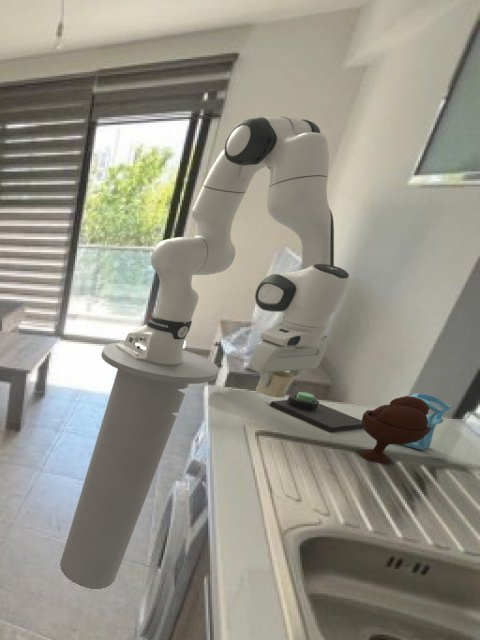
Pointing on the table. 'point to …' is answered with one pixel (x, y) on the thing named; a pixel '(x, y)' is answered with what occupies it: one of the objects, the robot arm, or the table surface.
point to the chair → (430, 420)
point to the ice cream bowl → (395, 425)
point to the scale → (317, 414)
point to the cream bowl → (277, 384)
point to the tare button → (305, 396)
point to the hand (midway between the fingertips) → (274, 385)
